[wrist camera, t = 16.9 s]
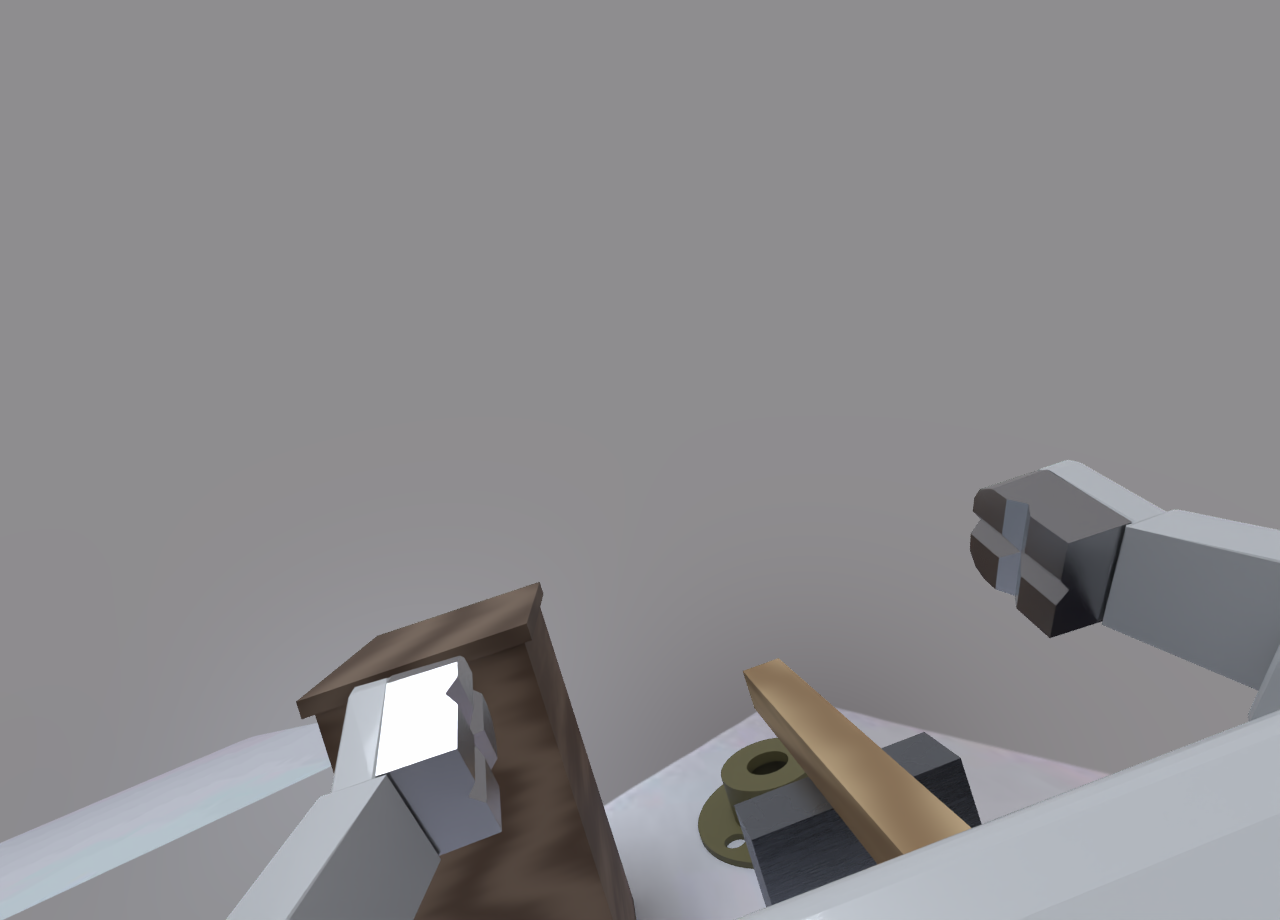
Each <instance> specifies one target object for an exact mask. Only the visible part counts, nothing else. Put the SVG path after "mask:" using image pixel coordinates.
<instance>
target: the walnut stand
mask: <svg viewBox="0 0 1280 920" xmlns="http://www.w3.org/2000/svg"><path fill="white" fill-rule="evenodd" d="M542 597H543V591H542V588H541V585H540V582H538V583H535V584H532V585H529V586H526V587H523V588H520V589H517V590H514V591H511V592H508V593H505V594H502V595H499V596H496V597H493V598H490V599H487V600H484V601H481V602H478V603H475V604H472V605H469V606H466V607H463V608H460V609H457V610H454V611H451V612H448V613H445V614H442V615H439V616H436V617H433V618H430V619H427V620H424V621H421V622H418V623H415V624H412V625H409V626H406V627H403V628H400V629H397V630H394V631H391V632H388V633H385V634H382V635H379V636H377V637H375V638H374V639H373V640H372V641H370V642H369V643H368V644H367V645H366V646H364V647H363V648H362V649H361V650H360V651H358V652H357V653H356V654H354V655H353V656H352V657H351V658H350V659H348V660H347V661H346V662H345V663H343V664H342V665H341V666H340V667H338V668H337V669H336V670H335V671H333V672H332V673H331V674H330V675H329V676H327V677H326V678H325V679H324V680H322V681H321V682H320V683H319V684H317V685H316V686H315V687H314V688H312V689H311V690H310V691H309V692H308V693H306V694H305V695H304V696H303V697H301V698H300V699H299V700H298V701H296V703H297V706H298V709H299V712H300V715H301V719H304V718H307V717H310V716H312V715H315V716H316V719H317V722H318V725H319V729H320V732H321V735H322V738H323V741H324V744H325V747H326V750H327V754H328V757H329V760H330V763H331V766H332V769H333V772H334V773H335V767H336V762H337V757H338V751H339V746H340V740H341V735H342V730H343V724H344V719H345V713H346V708H347V703H348V698H349V696H350V694H351V692H352V691H353V689H354V688H355V687H357V686H361V685H364V684H368V683H371V682H375V681H378V680H382V679H385V678H389V677H391V676H392V675H396V674H399V673H403V672H406V671H409V670H413V669H416V668H420V667H423V666H426V665H430V664H433V663H436V662H440V661H443V660H447V659H450V658H453V657H457V656H462V657H464V658H465V660H466V662H467V664H468V666H469V668H470V670H471V672H472V679H473V690H475V691H477V692H479V693H481V694H482V695H483V697H484V699H485V701H486V703H487V706H488V709H489V712H490V715H491V718H492V722H493V727H494V732H495V737H496V744H497V757H498V759H497V760H496V762H495V764H494V766H493V767H492V769H491V771H492V773H493V775H494V777H495V779H496V781H497V783H498V785H499V789H500V807H501V825H502V832H500V833H497V834H495V835H492V836H490V837H487V838H484V839H482V840H479V841H477V842H474V843H471V844H469V845H466V846H464V847H461V848H458V849H456V850H453V851H451V852H448V853H445V854H443V855H440V856H439V857H440V859H441V860H440V863H439V865H438V867H437V869H436V871H435V874H434V876H433V878H432V880H431V882H430V885H429V887H428V889H427V891H426V893H425V895H424V898H423V900H422V902H421V904H420V906H419V909H418V911H417V913H416V915H415V917H414V920H636V916H635V909H634V902H633V897H632V894H631V891H630V888H629V885H628V882H627V878H626V875H625V872H624V869H623V866H622V863H621V860H620V857H619V853H618V850H617V847H616V844H615V841H614V838H613V835H612V831H611V828H610V825H609V822H608V819H607V816H606V813H605V809H604V806H603V803H602V800H601V797H600V794H599V791H598V787H597V784H596V782H595V778H594V775H593V772H592V769H591V766H590V762H589V759H588V756H587V753H586V750H585V747H584V744H583V740H582V737H581V734H580V731H579V728H578V725H577V722H576V718H575V715H574V712H573V709H572V706H571V703H570V699H569V696H568V693H567V690H566V687H565V684H564V681H563V677H562V674H561V671H560V668H559V665H558V662H557V659H556V656H555V652H554V649H553V646H552V643H551V640H550V637H549V634H548V631H547V627H546V624H545V621H544V618H543V615H542V612H541V608H540V605H541V601H542Z"/></svg>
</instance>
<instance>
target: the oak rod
mask: <svg viewBox="0 0 1280 920" xmlns="http://www.w3.org/2000/svg"><path fill="white" fill-rule="evenodd" d="M743 673H744V676H745V679H746V682H747V686H748V689H749V692H750V695H751V698H752V701H753V705H754V708H755V709H756V710H757V712H758V713H759V714H760V716H761V717H762V718H763V719H764V721H765V722H766V723H767V724H768V726H769V727H770V728H771V730H772V731H773V732H774V733H775V735H776V736H777V737H778V738H779V740H780V741H781V742H782V743H783V745H784V746H785V747H786V749H787V750H788V751H789V752H790V754H791V755H792V756H793V757H794V759H795V760H796V761H797V763H798V764H799V765H800V766H801V768H802V769H803V770H804V771H805V773H806V774H807V775H808V777H809V778H810V779H811V780H812V782H813V783H814V784H815V785H816V787H817V788H818V789H819V790H820V792H821V793H822V794H823V796H824V797H825V798H826V799H827V801H828V802H829V803H830V804H831V806H832V807H833V808H834V810H835V811H836V812H837V813H838V815H839V816H840V817H841V818H842V820H843V821H844V822H845V824H846V825H847V826H848V827H849V829H850V830H851V831H852V832H853V834H854V835H855V836H856V838H857V839H858V840H859V841H860V843H861V844H862V845H863V846H864V848H865V849H866V850H867V851H868V853H869V854H870V855H871V857H872V858H873V859H874V860H875V862H876V863H877V864H880V863H883V862H885V861H888V860H891V859H893V858H896V857H898V856H901V855H903V854H906V853H909V852H911V851H914V850H916V849H919V848H922V847H924V846H927V845H929V844H932V843H935V842H937V841H940V840H942V839H945V838H948V837H950V836H953V835H955V834H958V833H961V832H963V831H966V830H968V829H971V827H970V826H969V825H967V824H966V823H965V822H964V821H963V820H962V819H961V818H959V817H958V816H957V815H956V814H955V813H954V812H953V811H952V810H950V809H949V808H948V807H947V806H946V805H945V804H944V803H942V802H941V801H940V800H939V799H938V798H937V797H936V796H934V795H933V794H932V793H931V792H930V791H929V790H928V789H927V788H925V787H924V786H923V785H922V784H921V783H920V782H919V781H917V780H916V779H915V778H914V777H913V776H912V775H911V774H909V773H908V772H907V771H906V770H905V769H904V768H903V767H902V766H900V765H899V764H898V763H897V762H896V761H895V760H894V759H892V758H891V757H890V756H889V755H888V754H887V753H886V752H884V751H883V750H882V749H881V748H880V747H879V746H878V745H876V744H875V743H874V742H873V741H872V740H871V739H870V738H869V737H867V736H866V735H865V734H864V733H863V732H862V731H861V730H859V729H858V728H857V727H856V726H855V725H854V724H853V723H851V722H850V721H849V720H848V719H847V718H846V717H845V716H844V715H842V714H841V713H840V712H839V711H838V710H837V709H836V708H834V707H833V706H832V705H831V704H830V703H829V702H828V701H826V700H825V699H824V698H823V697H822V696H821V695H820V694H818V693H817V692H816V691H815V690H814V689H813V688H811V686H809V685H808V684H807V683H806V682H805V681H804V680H802V679H801V678H800V677H799V676H798V675H797V674H796V673H795V672H793V671H792V670H791V669H790V668H789V667H788V666H787V665H786V664H784V663H783V662H782V661H781V660H780V659H775V660H773V661H770V662H767V663H764V664H761V665H759V666H756V667H753V668H750V669H747V670H745V671H743Z"/></svg>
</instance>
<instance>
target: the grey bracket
mask: <svg viewBox="0 0 1280 920" xmlns="http://www.w3.org/2000/svg"><path fill="white" fill-rule="evenodd" d="M881 749H882V750H883V751H884V752H886V753H887V754H888V755H889V756H890V757H891V758H892V759H894V760H895V761H896V762H897V763H898V764H899V765H900V766H902V767H903V768H904V769H905V770H906V771H907V772H908V773H909V774H911V775H912V776H913V777H914V778H915V779H916V780H917V781H919V782H920V783H921V784H922V785H923V786H924V787H925V788H927V789H928V790H929V791H930V792H931V793H932V794H933V795H934V796H936V797H937V798H938V799H939V800H940V801H941V802H942V803H944V804H945V805H946V806H947V807H948V808H949V809H950V810H952V811H953V812H954V813H955V814H956V815H957V816H958V817H959V818H961V819H962V820H963V821H964V822H965V823H966V824H967V825H969V826H970V827H971V828H973V827H976V826H979V825H981V821H980V818H979V815H978V811H977V808H976V805H975V802H974V799H973V796H972V792H971V789H970V786H969V783H968V780H967V777H966V773H965V770H964V767H963V764H962V761H961V758H960V757H959V756H957V755H956V754H954V753H953V752H952V751H950V750H949V749H947V748H946V747H945V746H943V745H942V744H940V743H939V742H938V741H936V740H935V739H933V738H932V737H931V736H929V735H928V734H926V733H925V732H923V733H920V734H918V735H915V736H913V737H910V738H907V739H905V740H902V741H900V742H897V743H894V744H892V745H889V746H887V747H884V748H881ZM734 807H735V810H736V813H737V816H738V820H739V823H740V826H741V829H742V832H743V835H744V838H745V842H746V845H747V848H748V851H749V854H750V857H751V860H752V864H753V867H754V870H755V873H756V876H757V879H758V883H759V886H760V889H761V892H762V895H763V898H764V901H765V905H766V907H769V906H771V905H774V904H776V903H779V902H782V901H784V900H787V899H789V898H792V897H795V896H797V895H800V894H802V893H805V892H808V891H810V890H813V889H815V888H818V887H821V886H823V885H826V884H828V883H831V882H834V881H836V880H839V879H841V878H844V877H846V876H849V875H852V874H854V873H857V872H859V871H862V870H865V869H867V868H870V867H872V866H875V865H878V864H877V863H876V862H875V860H874V859H873V858H872V857H871V855H870V854H869V853H868V851H867V850H866V849H865V848H864V846H863V845H862V844H861V843H860V841H859V840H858V839H857V838H856V836H855V835H854V834H853V832H852V831H851V830H850V829H849V827H848V826H847V825H846V824H845V822H844V821H843V820H842V818H841V817H840V816H839V815H838V813H837V812H836V811H835V810H834V808H833V807H832V806H831V804H830V803H829V802H828V801H827V799H826V798H825V797H824V796H823V794H822V793H821V792H820V790H819V789H818V788H817V787H816V785H815V784H814V783H813V782H812V780H811V779H810V778H809V777H806V778H803V779H801V780H798V781H796V782H793V783H790V784H788V785H785V786H783V787H780V788H777V789H775V790H772V791H770V792H767V793H764V794H762V795H759V796H757V797H754V798H751V799H749V800H746V801H744V802H741V803H738V804H736V805H734Z"/></svg>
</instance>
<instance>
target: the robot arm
mask: <svg viewBox="0 0 1280 920" xmlns="http://www.w3.org/2000/svg"><path fill="white" fill-rule="evenodd" d="M973 512H974V513H975V514H976V515H977V516H978V517H979V518H980V519H981V520H980V521H979V522H978V524H977V525H976V527H975V528H974V530H973V531H972V533H971V542H970V552H971V554H972V558H973V560H974V563H975V566H976V568H977V569H978V571H979V572H980V574H981V575H982V576H983V578H984V579H985V580H986V581H987V582H988V583H989V584H990V585H991V586H992V587H994V588H995V589H996V590H999V591H1002V592H1005V593H1009V594H1011V595H1014V596H1015V601H1016V607H1017V609H1018V610H1019V611H1020V612H1021V613H1022V614H1024V616H1026V617H1027V618H1028V619H1029V620H1030V621H1031V622H1032V623H1033V624H1035V625H1036V626H1037V627H1038V628H1039V629H1040V630H1041V631H1042V632H1043V633H1045V634H1046V635H1047V636H1048V637H1049V638H1052V637H1055V636H1058V635H1061V634H1065V633H1068V632H1070V631H1074V630H1077V629H1080V628H1083V627H1086V626H1089V625H1093V624H1095V623H1099V622H1102V625H1104V626H1106V627H1109V628H1111V629H1113V630H1116V631H1118V632H1121V633H1123V634H1125V635H1128V636H1130V637H1132V638H1135V639H1137V640H1139V641H1142V642H1144V643H1147V644H1149V645H1151V646H1154V647H1156V648H1159V649H1161V650H1163V651H1166V652H1168V653H1170V654H1173V655H1175V656H1177V657H1180V658H1182V659H1185V660H1187V661H1190V662H1192V663H1194V664H1196V665H1199V666H1201V667H1204V668H1206V669H1208V670H1211V671H1213V672H1215V673H1218V674H1220V675H1223V676H1225V677H1227V678H1230V679H1232V680H1235V681H1237V682H1239V683H1241V684H1244V685H1246V686H1249V687H1251V688H1254V689H1256V690H1258V693H1257V695H1256V697H1255V700H1254V702H1253V704H1252V706H1251V709H1250V711H1249V713H1248V718H1249V722H1247V723H1244V724H1241V725H1239V726H1236V727H1234V728H1231V729H1228V730H1226V731H1223V732H1221V733H1218V734H1216V735H1213V736H1211V737H1208V738H1205V739H1203V740H1200V741H1197V742H1195V743H1192V744H1190V745H1187V746H1184V747H1182V748H1179V749H1177V750H1174V751H1171V752H1169V753H1166V754H1164V755H1161V756H1159V757H1156V758H1153V759H1151V760H1148V761H1145V762H1143V763H1140V764H1138V765H1135V766H1132V767H1130V768H1127V769H1125V770H1122V771H1119V772H1117V773H1114V774H1111V775H1109V776H1106V777H1104V778H1101V779H1098V780H1096V781H1093V782H1091V783H1088V784H1085V785H1083V786H1080V787H1078V788H1075V789H1072V790H1070V791H1067V792H1065V793H1062V794H1059V795H1057V796H1054V797H1052V798H1049V799H1046V800H1044V801H1041V802H1039V803H1036V804H1033V805H1031V806H1028V807H1026V808H1023V809H1020V810H1018V811H1015V812H1013V813H1010V814H1007V815H1005V816H1002V817H999V818H997V819H994V820H992V821H989V822H986V823H984V824H981V825H979V826H976V827H973V828H971V829H968V830H966V831H963V832H961V833H958V834H955V835H953V836H950V837H948V838H945V839H942V840H940V841H937V842H935V843H932V844H929V845H927V846H924V847H922V848H919V849H916V850H914V851H911V852H909V853H906V854H903V855H901V856H898V857H896V858H893V859H891V860H888V861H885V862H883V863H880V864H878V865H875V866H872V867H870V868H867V869H865V870H862V871H859V872H857V873H854V874H852V875H849V876H846V877H844V878H841V879H839V880H836V881H834V882H831V883H828V884H826V885H823V886H821V887H818V888H815V889H813V890H810V891H808V892H805V893H802V894H800V895H797V896H795V897H792V898H789V899H787V900H784V901H782V902H779V903H776V904H774V905H771V906H769V907H766V908H764V909H761V910H758V911H756V912H753V913H751V914H748V915H745V916H743V917H740V918H738V919H735V920H1280V530H1276V529H1271V528H1266V527H1261V526H1256V525H1251V524H1246V523H1242V522H1237V521H1232V520H1227V519H1222V518H1217V517H1212V516H1207V515H1202V514H1197V513H1192V512H1188V511H1183V510H1178V509H1175V510H1171V511H1168V512H1166V511H1164V510H1162V509H1160V508H1159V507H1157V506H1155V505H1154V504H1152V503H1150V502H1148V501H1147V500H1145V499H1143V498H1141V497H1140V496H1138V495H1136V494H1134V493H1132V492H1131V491H1129V490H1127V489H1126V488H1124V487H1122V486H1120V485H1119V484H1117V483H1115V482H1113V481H1112V480H1110V479H1108V478H1106V477H1105V476H1103V475H1101V474H1099V473H1098V472H1096V471H1094V470H1092V469H1091V468H1089V467H1087V466H1086V465H1084V464H1082V463H1080V462H1077V461H1071V460H1065V461H1062V462H1060V463H1057V464H1054V465H1051V466H1048V467H1045V468H1042V469H1039V470H1037V471H1035V472H1031V473H1028V474H1025V475H1022V476H1019V477H1016V478H1013V479H1009V480H1006V481H1004V482H1000V483H997V484H995V485H991V486H988V487H985V488H982V489H980V490H979V491H978V493H977V495H976V496H975V498H974V506H973ZM497 759H498V757H497V744H496V737H495V732H494V727H493V722H492V718H491V715H490V712H489V709H488V706H487V703H486V701H485V699H484V697H483V695H482V694H481V693H479V692H477V691H475V690H473V679H472V672H471V670H470V668H469V666H468V664H467V662H466V660H465V658H464V657H462V656H457V657H453V658H450V659H447V660H443V661H440V662H436V663H433V664H430V665H426V666H423V667H420V668H416V669H413V670H409V671H406V672H403V673H399V674H396V675H392V676H391V677H389V678H385V679H382V680H378V681H375V682H371V683H368V684H364V685H361V686H357V687H355V688H354V689H353V691H352V692H351V694H350V696H349V698H348V703H347V708H346V713H345V719H344V724H343V730H342V735H341V740H340V746H339V751H338V757H337V762H336V767H335V773H334V778H333V784H332V789H331V793H329V794H327V795H324V796H321V797H319V798H318V799H317V801H316V802H315V803H314V805H313V806H312V808H311V809H310V810H309V811H308V813H307V814H306V815H305V816H304V818H303V819H302V821H301V822H300V823H299V824H298V826H297V827H296V828H295V830H294V831H293V832H292V834H291V835H290V836H289V838H288V839H287V840H286V842H285V843H284V844H283V845H282V847H281V848H280V849H279V851H278V852H277V853H276V855H275V856H274V857H273V859H272V860H271V861H270V862H269V864H268V865H267V866H266V868H265V869H264V870H263V872H262V873H261V874H260V876H259V877H258V878H257V879H256V881H255V882H254V883H253V885H252V886H251V887H250V889H249V890H248V891H247V893H246V894H245V895H244V897H243V898H242V899H241V900H240V902H239V903H238V905H237V906H236V907H235V908H234V910H233V911H232V912H231V914H230V915H229V916H228V918H227V919H226V920H414V917H415V915H416V913H417V911H418V909H419V906H420V904H421V902H422V900H423V898H424V895H425V893H426V891H427V889H428V887H429V885H430V882H431V880H432V878H433V876H434V874H435V871H436V869H437V867H438V865H439V863H440V860H441V859H440V857H439V856H440V855H443V854H445V853H448V852H451V851H453V850H456V849H458V848H461V847H464V846H466V845H469V844H471V843H474V842H477V841H479V840H482V839H484V838H487V837H490V836H492V835H495V834H497V833H500V832H502V825H501V807H500V789H499V785H498V783H497V781H496V779H495V777H494V775H493V773H492V771H491V769H492V767H493V766H494V764H495V762H496V760H497Z"/></svg>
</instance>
